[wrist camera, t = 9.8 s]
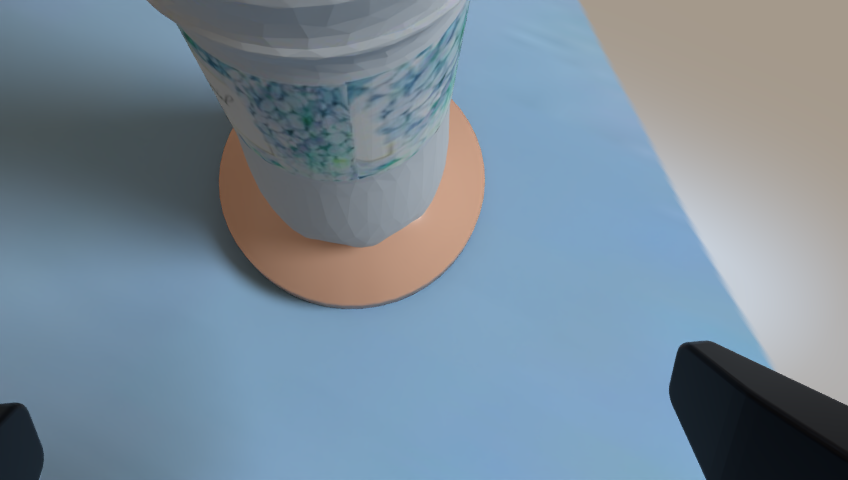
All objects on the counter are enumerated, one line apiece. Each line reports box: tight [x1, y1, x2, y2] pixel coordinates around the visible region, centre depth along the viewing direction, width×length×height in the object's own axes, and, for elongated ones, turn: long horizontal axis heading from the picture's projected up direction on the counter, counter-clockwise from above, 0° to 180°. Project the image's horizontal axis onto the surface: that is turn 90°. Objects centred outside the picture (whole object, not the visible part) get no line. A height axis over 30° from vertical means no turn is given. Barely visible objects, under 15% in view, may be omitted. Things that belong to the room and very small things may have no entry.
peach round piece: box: [219, 99, 485, 309], centre depth 22 cm, size 10×10×1 cm
